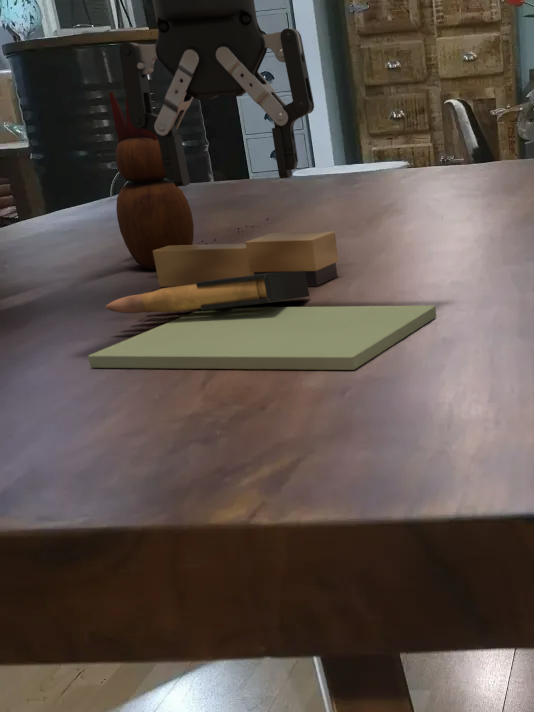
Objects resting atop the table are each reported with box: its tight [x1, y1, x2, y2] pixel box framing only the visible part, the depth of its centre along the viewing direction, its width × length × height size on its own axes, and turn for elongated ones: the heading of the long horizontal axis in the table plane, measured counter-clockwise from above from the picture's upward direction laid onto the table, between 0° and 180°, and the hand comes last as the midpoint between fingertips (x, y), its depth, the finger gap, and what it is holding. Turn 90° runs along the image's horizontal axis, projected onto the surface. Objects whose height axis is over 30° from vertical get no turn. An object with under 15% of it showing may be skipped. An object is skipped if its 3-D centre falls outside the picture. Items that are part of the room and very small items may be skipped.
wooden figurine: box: [108, 91, 195, 271], centre depth 101 cm, size 7×6×15 cm
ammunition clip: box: [105, 271, 310, 314], centre depth 79 cm, size 11×2×12 cm
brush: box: [153, 230, 339, 288], centre depth 92 cm, size 16×4×4 cm, turn 72°
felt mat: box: [87, 305, 437, 371], centre depth 71 cm, size 18×14×1 cm
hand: (234, 181), depth 89 cm, fingers open, 8 cm apart
